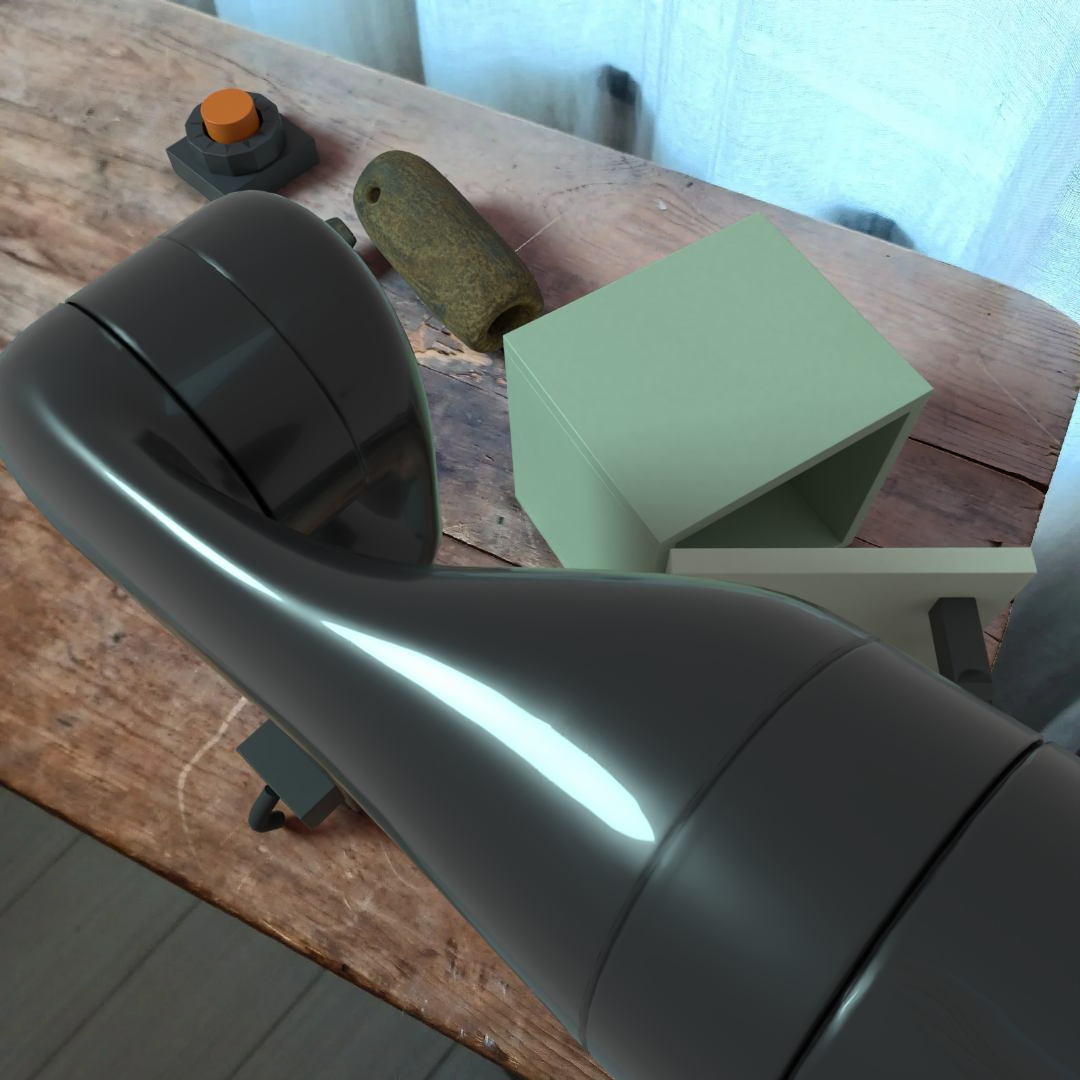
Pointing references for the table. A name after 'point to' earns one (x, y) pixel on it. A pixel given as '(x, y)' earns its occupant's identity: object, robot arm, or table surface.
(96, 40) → the table surface
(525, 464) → the pale green box
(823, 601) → the door
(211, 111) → the button
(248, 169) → the control block
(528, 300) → the stone weight
